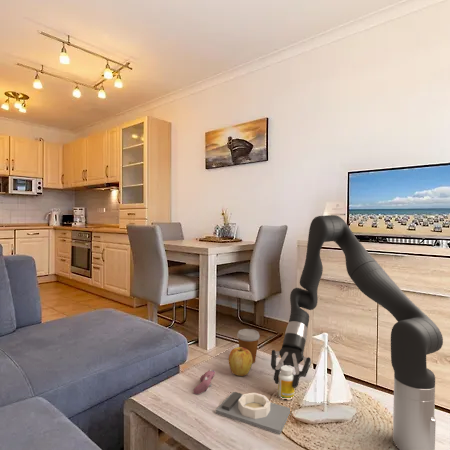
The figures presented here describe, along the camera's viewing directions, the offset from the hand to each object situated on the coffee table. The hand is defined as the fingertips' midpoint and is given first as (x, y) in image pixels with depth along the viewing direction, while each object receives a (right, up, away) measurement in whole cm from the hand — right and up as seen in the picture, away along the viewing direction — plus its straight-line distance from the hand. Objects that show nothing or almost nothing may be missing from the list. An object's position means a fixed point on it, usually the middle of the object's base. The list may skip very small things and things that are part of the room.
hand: (284, 384), depth 105 cm
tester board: (-11, -5, -8) cm, 14 cm away
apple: (-14, -5, +17) cm, 22 cm away
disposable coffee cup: (-10, -5, +29) cm, 31 cm away
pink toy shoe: (-27, -5, +6) cm, 28 cm away
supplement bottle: (+1, -5, +2) cm, 5 cm away
